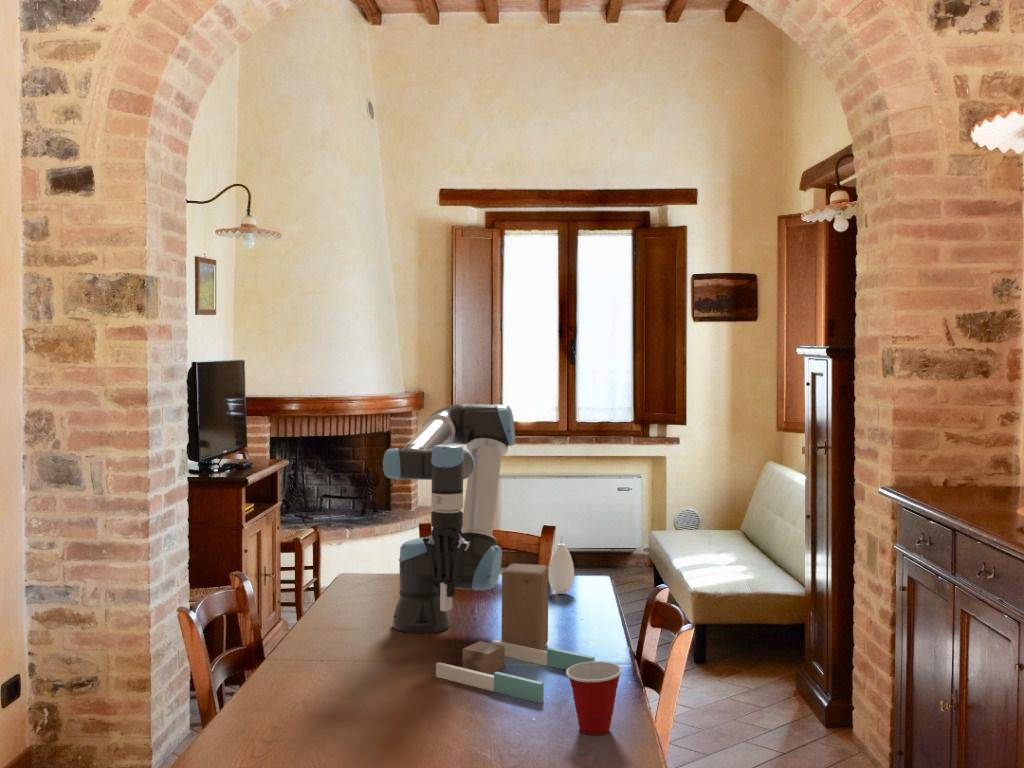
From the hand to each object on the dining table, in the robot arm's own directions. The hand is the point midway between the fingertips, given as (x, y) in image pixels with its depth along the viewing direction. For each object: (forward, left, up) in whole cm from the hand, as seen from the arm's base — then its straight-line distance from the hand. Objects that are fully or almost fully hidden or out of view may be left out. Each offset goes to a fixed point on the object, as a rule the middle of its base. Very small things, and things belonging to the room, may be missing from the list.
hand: (446, 609), depth 228 cm
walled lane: (+19, 0, -12) cm, 22 cm away
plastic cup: (+50, -17, -12) cm, 54 cm away
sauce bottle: (-11, +69, -12) cm, 71 cm away
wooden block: (+10, +19, -12) cm, 24 cm away
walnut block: (+11, 0, -12) cm, 16 cm away
